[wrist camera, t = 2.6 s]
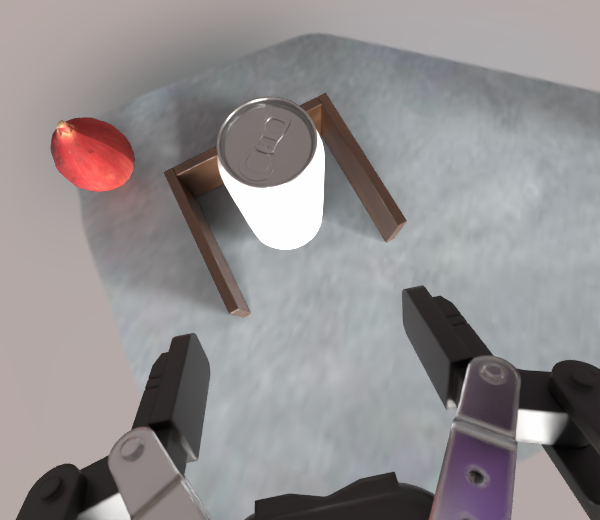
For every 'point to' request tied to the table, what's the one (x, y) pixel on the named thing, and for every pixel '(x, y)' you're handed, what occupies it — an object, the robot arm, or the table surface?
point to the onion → (92, 154)
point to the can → (274, 169)
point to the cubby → (205, 177)
